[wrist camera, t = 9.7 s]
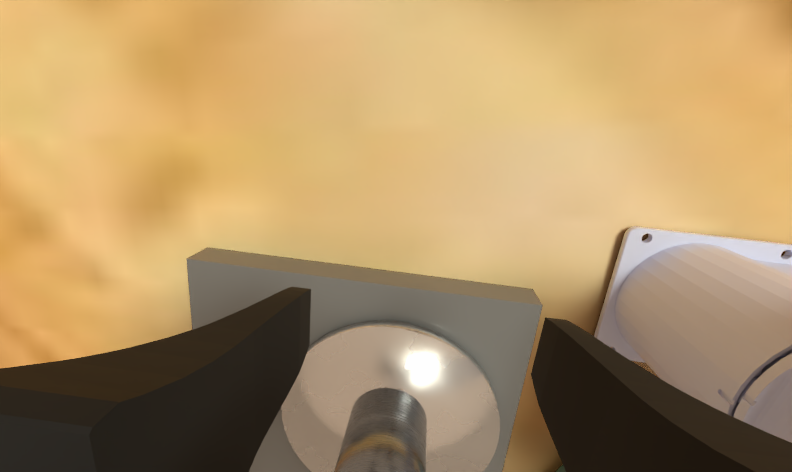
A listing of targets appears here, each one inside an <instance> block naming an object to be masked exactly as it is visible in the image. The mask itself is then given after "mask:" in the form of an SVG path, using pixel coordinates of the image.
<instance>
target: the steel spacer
mask: <svg viewBox="0 0 792 472" xmlns="http://www.w3.org/2000/svg"><path fill="white" fill-rule="evenodd" d="M426 437H427V418H426V414H425V411H424V409H423V407H422V406H421V404H420V403H419V402H418V401H417V400H416V399H415V398H414V397H412V396H411V395H409V394H408V393H406V392H403V391H401V390H397V389H393V388H378V389H373V390H370V391H368V392H366V393H364V394H363V395H361V396H360V397H359V398H358V399H357V400H356V402H355V403H354V405H353V407H352V410H351V414H350V417H349V421H348V425H347V428H346V432H345V435H344V439H343V442H342V446H341V449H340V453H339V456H338V460H337V463H336V467H335V470H334V472H426Z"/></svg>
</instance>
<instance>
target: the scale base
mask: <svg viewBox="0 0 792 472" xmlns="http://www.w3.org/2000/svg"><path fill="white" fill-rule="evenodd" d="M187 269H188V281H189V293H190V305H191V318H192V330H193V329H196V328H199V327H202V326H204V325H207V324H210V323H212V322H215V321H217V320H219V319H222V318H224V317H226V316H229V315H231V314H233V313H236V312H238V311H240V310H242V309H245V308H247V307H249V306H251V305H253V304H255V303H257V302H259V301H261V300H263V299H265V298H267V297H269V296H272V295H274V294H276V293H278V292H280V291H282V290H284V289H287V288H289V287H299V288H308V289H311V310H310V345H309V347H310V346H311V345H312V344H313V343H315V342H316V341H317V340H318V339H320V338H321V337H323V336H325V335H326V334H328V333H329V332H332V331H334V330H336V329H338V328H341V327H343V326H347V325H350V324H354V323H359V322H365V321H374V320H390V321H401V322H406V323H411V324H416V325H419V326H422V327H425V328H428V329H431V330H433V331H435V332H437V333H439V334H442V335H444V336H445V337H447V338H449V339H450V340H452V341H454V342H455V343H457V344H458V345H459V346H460V347H462V348H463V349H464V350H465V351H467V352H468V353H469V354H470V355H471V356H472V357H473V358H474V359H475V360H476V362H477V363H478V364H479V366H480V367H481V368H482V370H483V371H484V372H485V374H486V376H487V378H488V380H489V381H490V383H491V386H492V388H493V391H494V394H495V397H496V402H497V406H498V412H499V417H500V434H499V441H498V444H497V448H496V451H495V453H494V455H493V457H492V459H491V461H490V463H489V465H488V466H487V467H486V469H485V470H484V471H483V472H502V470H503V466H504V462H505V458H506V454H507V449H508V445H509V441H510V437H511V433H512V429H513V425H514V421H515V417H516V412H517V408H518V404H519V400H520V396H521V392H522V388H523V384H524V380H525V375H526V371H527V367H528V363H529V359H530V355H531V351H532V347H533V343H534V339H535V334H536V330H537V326H538V322H539V318H540V314H541V310H542V306H543V305H542V304H541V302H540V300H539V299H538V297H537V295H536V294H535V292H534V290H533V289H526V288H518V287H511V286H503V285H495V284H487V283H480V282H472V281H464V280H456V279H448V278H441V277H433V276H425V275H417V274H409V273H402V272H394V271H386V270H378V269H370V268H363V267H355V266H347V265H339V264H332V263H324V262H316V261H308V260H300V259H293V258H285V257H277V256H269V255H261V254H254V253H246V252H238V251H230V250H222V249H215V248H206V249H204V250H202V251H200V252H198V253H196V254H195V255H193V256H191V257H189V258H187ZM249 472H311V471H310V470H309V469H308V468H307V467H306V466H305V465H304V464H303V462H302V461H301V460H300V459H299V457H298V456H297V454H296V453H295V452H294V450H293V448H292V446H291V444H290V443H289V440H288V438H287V435H286V433H285V430H284V425H283V421H282V411H281V408H280V410H279V412H278V414H277V415H276V417H275V419H274V421H273V423H272V425H271V426H270V428H269V430H268V432H267V434H266V436H265V437H264V439H263V441H262V444H261V446H260V448H259V450H258V452H257V454H256V456H255V458H254V461H253V463H252V465H251V468H250V470H249Z"/></svg>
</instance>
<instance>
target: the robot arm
mask: <svg viewBox="0 0 792 472" xmlns="http://www.w3.org/2000/svg"><path fill="white" fill-rule="evenodd" d="M645 234H648V238H647V239H646V240H644V241H642V237H643V235H645ZM785 250H786V251H785ZM783 251H785V254H784V255H783V256H781V254H782V252H783ZM310 310H311V289H308V288H299V287H289V288H287V289H284V290H282V291H280V292H278V293H276V294H274V295H272V296H269V297H267V298H265V299H263V300H261V301H259V302H257V303H255V304H253V305H251V306H249V307H247V308H245V309H242V310H240V311H238V312H236V313H233V314H231V315H229V316H226V317H224V318H222V319H219V320H217V321H215V322H212V323H210V324H207V325H204V326H202V327H199V328H196V329H193V330H190V331H187V332H184V333H181V334H178V335H175V336H172V337H169V338H165V339H161V340H157V341H153V342H150V343H146V344H142V345H138V346H135V347H131V348H126V349H122V350H117V351H113V352H108V353H103V354H98V355H92V356H87V357H81V358H76V359H69V360H63V361H56V362H49V363H41V364H33V365H26V366H18V367H11V368H1V369H0V472H249V470H250V468H251V465H252V463H253V461H254V458H255V456H256V454H257V452H258V450H259V448H260V446H261V444H262V441H263V439H264V437H265V436H266V434H267V432H268V430H269V428H270V426H271V425H272V423H273V421H274V419H275V417H276V415H277V414H278V412H279V410H280V408H281V406H282V404H283V403H284V401H285V399H286V397H287V395H288V393H289V392H290V390H291V388H292V386H293V384H294V382H295V380H296V378H297V376H298V375H299V372H300V370H301V367H302V365H303V362H304V359H305V357H306V354H307V351H308V348H309V345H310ZM610 347H613V348H610ZM632 361H636V362H643V363H646V364H647V365H648V366H649V367H650V368H651V369H652V370H653V371H654V372H655V374H656V375H657V376H658V377H659V378H658V377H657V376H655V375H653V374H651V373H650V372H648V371H646V370H645V369H643V368H642V367H640V366H638V365H637V364H635V363H634V362H632ZM531 376H532V380H533V384H534V388H535V392H536V396H537V400H538V404H539V407H540V409H541V412H542V414H543V417H544V419H545V422H546V424H547V427H548V429H549V432H550V434H551V437H552V439H553V441H554V444H555V446H556V449H557V451H558V454H559V456H560V458H561V461H562V463H563V466H564V468H565V471H566V472H792V244H785V243H776V242H768V241H759V240H750V239H742V238H733V237H724V236H716V235H707V234H698V233H690V232H681V231H672V230H664V229H655V228H646V227H638V226H635V227H631V228H629V229H628V230H627V231H626V232H625V234H624V237H623V241H622V244H621V247H620V251H619V254H618V257H617V261H616V264H615V267H614V271H613V274H612V277H611V281H610V284H609V287H608V291H607V294H606V297H605V301H604V304H603V307H602V311H601V314H600V317H599V321H598V324H597V327H596V331H595V334H594V336H592V335H591V334H589V333H588V332H586V331H584V330H583V329H581V328H580V327H578V326H576V325H575V324H573V323H571V322H569V321H567V320H561V319H553V318H545V321H544V325H543V329H542V333H541V337H540V341H539V345H538V349H537V353H536V357H535V361H534V365H533V369H532V373H531Z"/></svg>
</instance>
